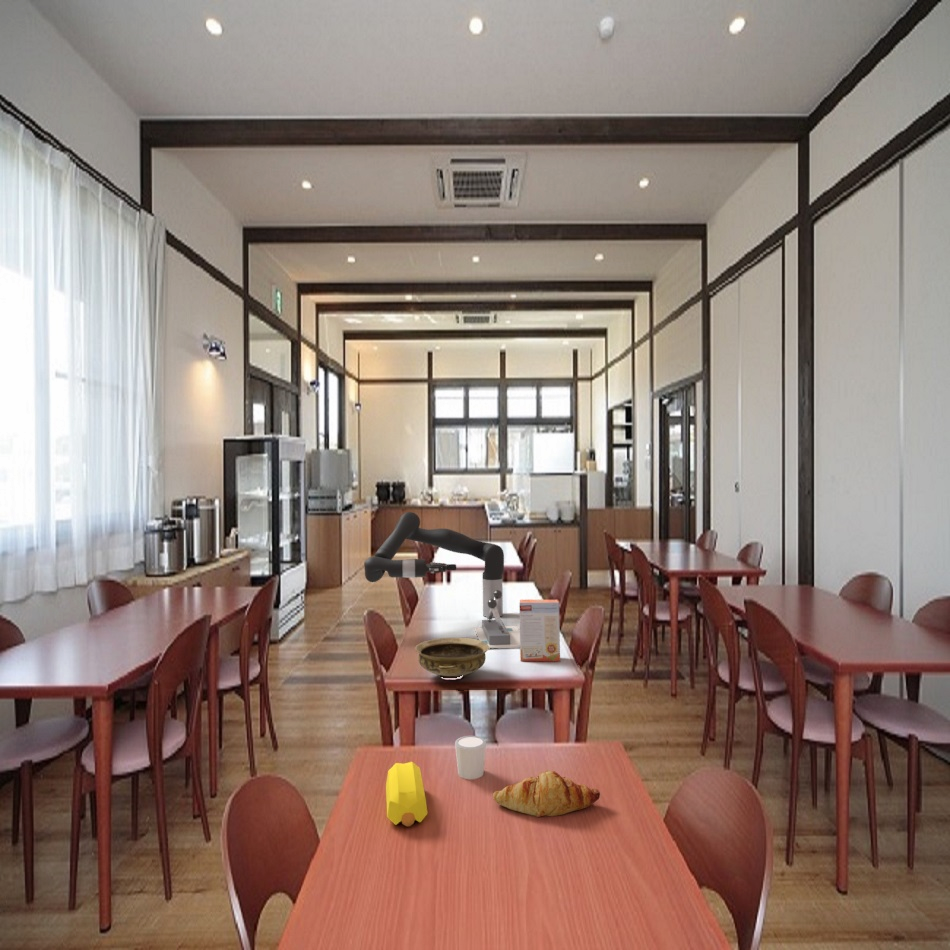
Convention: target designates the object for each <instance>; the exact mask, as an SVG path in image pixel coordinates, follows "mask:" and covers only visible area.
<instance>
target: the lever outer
mask: <svg viewBox="0 0 950 950" xmlns="http://www.w3.org/2000/svg"><path fill="white" fill-rule="evenodd" d="M496 606H497V602H496V600H494V599H490V600H489V601H488V607H489V608H491V609H492V612H493V614H494V617H493V618H494V620H496V622H497V625H498V628H499V630H501V632H502V633H504V626H505V625H504V626H503V624H504V623H503V624H502V622H503V621H502V618H501V617H500V616H499V613H498V610H497V608H496Z"/></svg>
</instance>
